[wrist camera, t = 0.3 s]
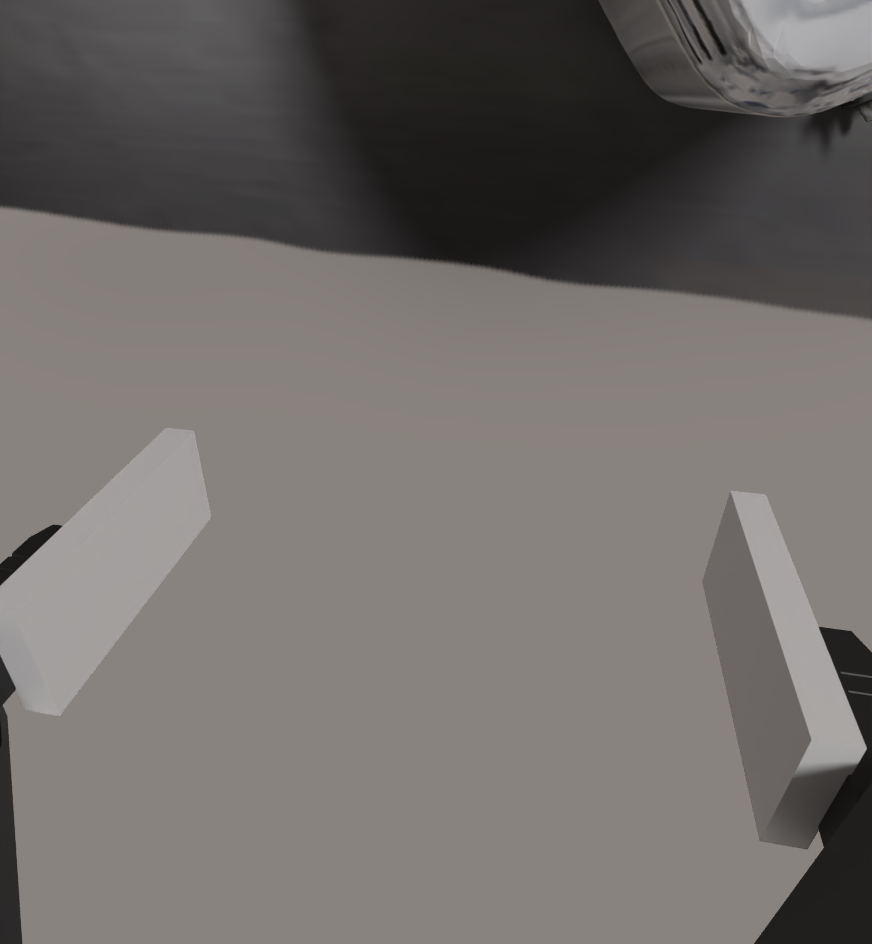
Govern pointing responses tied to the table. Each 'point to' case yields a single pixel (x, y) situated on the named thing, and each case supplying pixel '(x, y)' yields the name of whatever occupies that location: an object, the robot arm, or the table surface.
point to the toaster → (751, 53)
